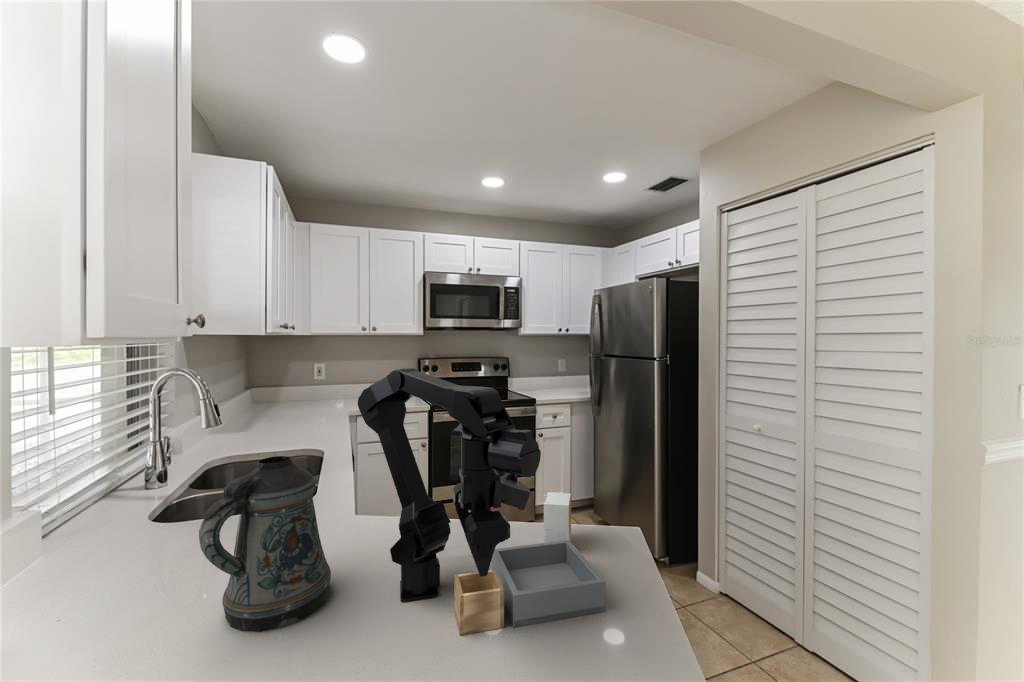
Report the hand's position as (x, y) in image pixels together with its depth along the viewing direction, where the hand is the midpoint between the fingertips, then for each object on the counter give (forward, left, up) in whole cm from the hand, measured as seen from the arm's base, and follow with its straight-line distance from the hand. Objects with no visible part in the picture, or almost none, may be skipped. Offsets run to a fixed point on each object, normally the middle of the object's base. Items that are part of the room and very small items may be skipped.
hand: (477, 561), depth 71 cm
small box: (+22, +21, -10) cm, 32 cm away
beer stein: (-33, +12, -10) cm, 36 cm away
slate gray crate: (+13, +4, -9) cm, 17 cm away
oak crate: (0, 0, -9) cm, 9 cm away
